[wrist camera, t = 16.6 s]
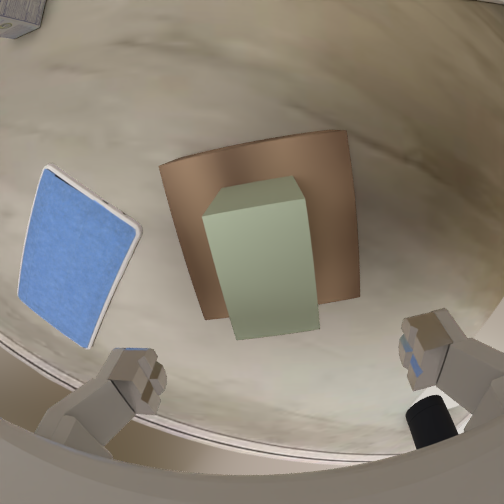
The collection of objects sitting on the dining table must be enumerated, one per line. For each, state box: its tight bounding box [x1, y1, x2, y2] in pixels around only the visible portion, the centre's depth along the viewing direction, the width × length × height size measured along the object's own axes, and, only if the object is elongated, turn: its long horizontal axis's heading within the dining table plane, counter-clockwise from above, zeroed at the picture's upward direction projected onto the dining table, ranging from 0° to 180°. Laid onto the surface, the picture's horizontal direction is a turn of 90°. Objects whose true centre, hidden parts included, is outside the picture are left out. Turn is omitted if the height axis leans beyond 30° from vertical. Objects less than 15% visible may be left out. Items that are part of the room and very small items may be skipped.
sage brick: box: [202, 176, 320, 340], centre depth 17 cm, size 4×7×6 cm, turn 11°
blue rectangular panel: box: [17, 163, 143, 349], centre depth 26 cm, size 19×13×1 cm, turn 145°
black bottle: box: [406, 395, 459, 449], centre depth 20 cm, size 6×6×30 cm
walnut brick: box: [159, 130, 360, 320], centre depth 22 cm, size 12×12×5 cm
